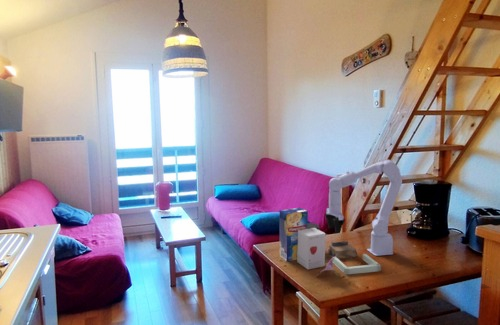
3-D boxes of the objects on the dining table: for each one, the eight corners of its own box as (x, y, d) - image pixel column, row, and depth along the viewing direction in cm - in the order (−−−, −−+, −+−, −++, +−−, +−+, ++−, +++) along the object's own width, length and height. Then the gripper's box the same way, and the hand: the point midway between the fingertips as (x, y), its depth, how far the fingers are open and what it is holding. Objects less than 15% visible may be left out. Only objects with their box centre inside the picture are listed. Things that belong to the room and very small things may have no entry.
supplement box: (307, 270, 155) (308, 236, 153) (296, 262, 163) (297, 229, 161) (325, 266, 159) (326, 233, 157) (313, 258, 167) (314, 227, 165)
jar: (309, 254, 172) (309, 229, 171) (297, 248, 179) (298, 225, 177) (323, 249, 177) (323, 226, 176) (311, 244, 184) (311, 221, 182)
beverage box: (307, 257, 169) (308, 211, 165) (286, 261, 164) (287, 214, 161) (299, 252, 175) (299, 207, 172) (279, 256, 170) (279, 210, 167)
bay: (365, 259, 166) (365, 254, 165) (380, 270, 154) (380, 265, 153) (332, 262, 163) (332, 257, 162) (345, 274, 150) (345, 268, 150)
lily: (335, 270, 157) (324, 250, 157) (354, 270, 147) (342, 248, 147) (317, 286, 151) (305, 265, 151) (335, 287, 140) (323, 264, 141)
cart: (349, 251, 175) (350, 240, 175) (356, 257, 169) (357, 245, 168) (328, 253, 173) (328, 242, 172) (334, 259, 166) (334, 248, 166)
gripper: (321, 200, 181) (320, 226, 183) (333, 207, 167) (333, 236, 169) (334, 199, 183) (333, 225, 185) (347, 206, 169) (347, 234, 170)
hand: (334, 230), depth 177 cm, fingers open, 7 cm apart
